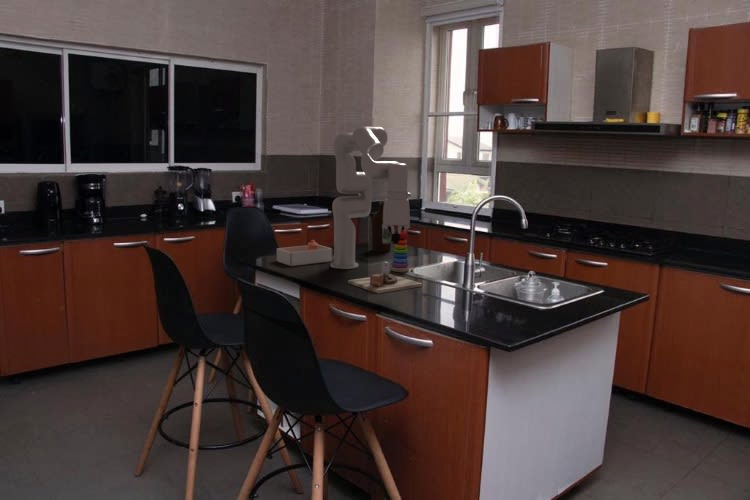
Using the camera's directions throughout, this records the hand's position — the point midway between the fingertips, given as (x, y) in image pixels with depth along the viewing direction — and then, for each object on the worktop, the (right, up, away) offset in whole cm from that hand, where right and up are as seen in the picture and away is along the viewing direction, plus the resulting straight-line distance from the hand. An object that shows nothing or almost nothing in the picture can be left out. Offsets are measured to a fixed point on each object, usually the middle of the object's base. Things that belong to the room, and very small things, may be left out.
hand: (395, 243), depth 254 cm
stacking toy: (+3, -12, +38) cm, 40 cm away
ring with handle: (-5, -15, +8) cm, 18 cm away
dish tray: (-41, -8, +54) cm, 68 cm away
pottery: (-42, -8, +53) cm, 68 cm away
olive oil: (-5, -3, +86) cm, 86 cm away
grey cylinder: (-6, -16, +8) cm, 19 cm away
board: (-4, -16, +10) cm, 20 cm away
